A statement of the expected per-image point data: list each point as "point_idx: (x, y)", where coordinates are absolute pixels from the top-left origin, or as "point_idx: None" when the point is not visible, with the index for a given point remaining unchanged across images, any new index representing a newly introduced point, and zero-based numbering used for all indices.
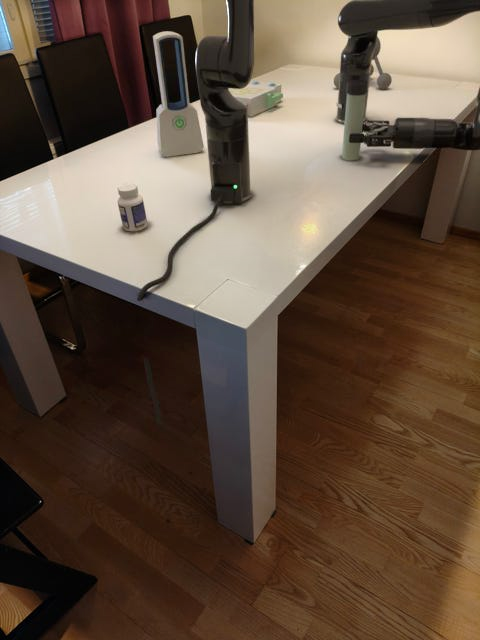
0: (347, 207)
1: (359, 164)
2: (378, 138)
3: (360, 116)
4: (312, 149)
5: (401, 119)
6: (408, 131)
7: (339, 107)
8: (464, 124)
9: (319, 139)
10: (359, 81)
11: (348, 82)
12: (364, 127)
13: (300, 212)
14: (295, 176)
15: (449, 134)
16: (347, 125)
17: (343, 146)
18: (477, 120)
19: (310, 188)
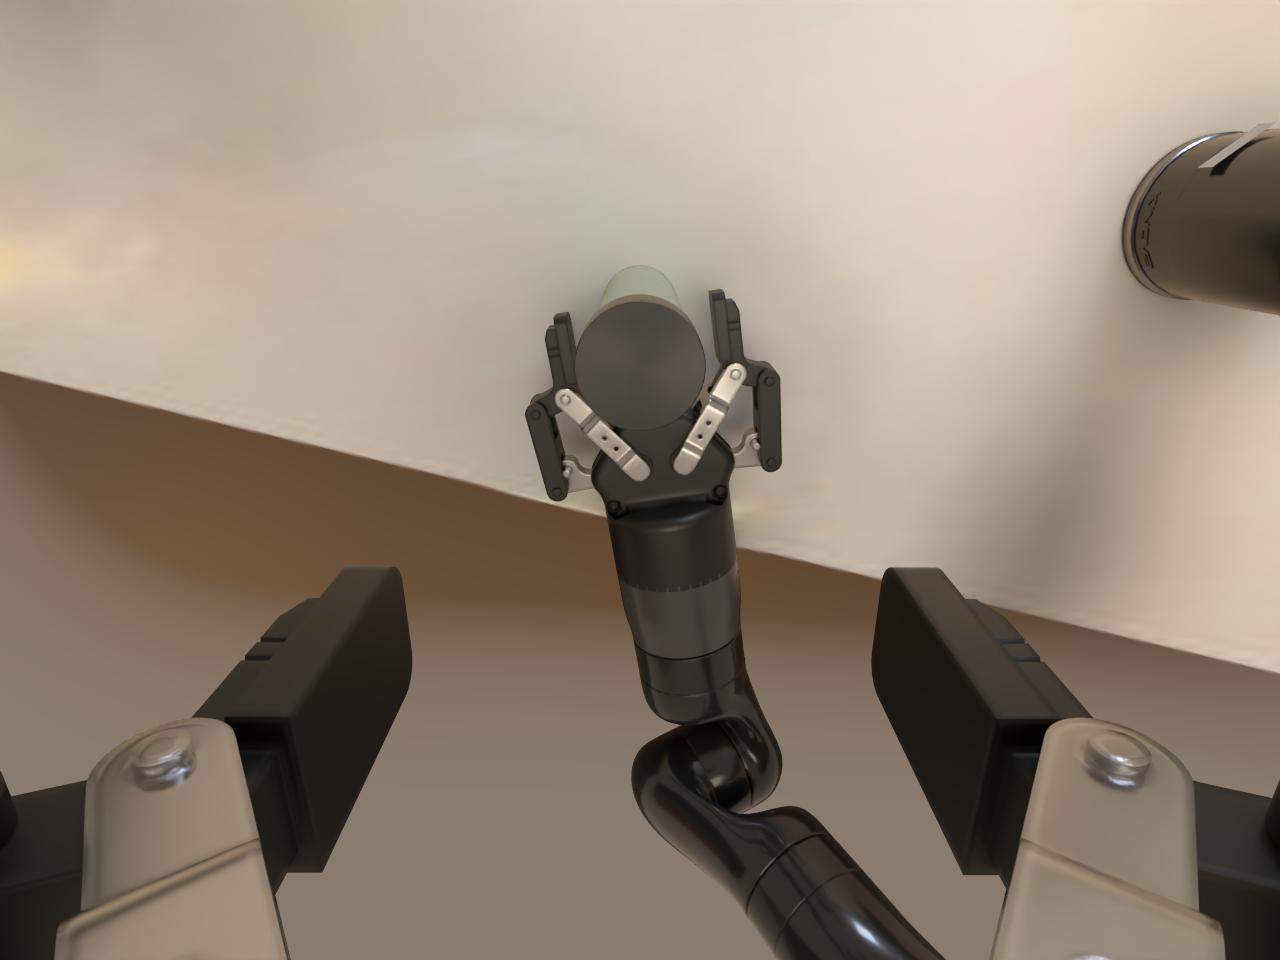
0: (165, 366)
1: None
2: (535, 448)
3: None
4: (719, 101)
5: (657, 541)
6: (617, 558)
7: (1222, 150)
8: (750, 735)
9: (874, 105)
10: (655, 378)
11: (622, 313)
12: (721, 364)
13: (49, 211)
14: (364, 101)
15: (642, 687)
16: (602, 301)
17: (619, 276)
18: (667, 792)
19: (267, 199)
